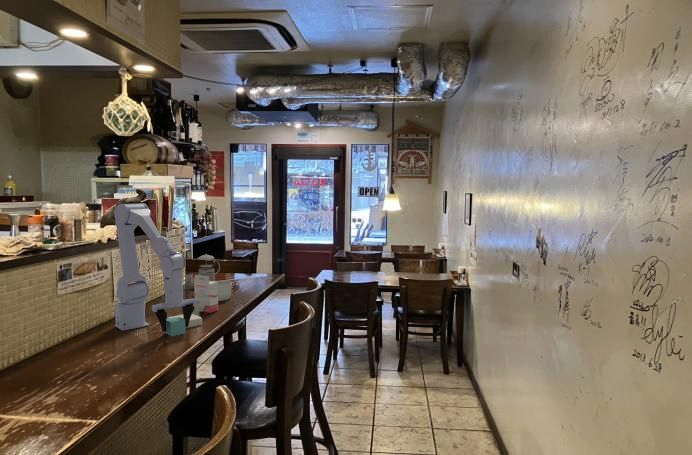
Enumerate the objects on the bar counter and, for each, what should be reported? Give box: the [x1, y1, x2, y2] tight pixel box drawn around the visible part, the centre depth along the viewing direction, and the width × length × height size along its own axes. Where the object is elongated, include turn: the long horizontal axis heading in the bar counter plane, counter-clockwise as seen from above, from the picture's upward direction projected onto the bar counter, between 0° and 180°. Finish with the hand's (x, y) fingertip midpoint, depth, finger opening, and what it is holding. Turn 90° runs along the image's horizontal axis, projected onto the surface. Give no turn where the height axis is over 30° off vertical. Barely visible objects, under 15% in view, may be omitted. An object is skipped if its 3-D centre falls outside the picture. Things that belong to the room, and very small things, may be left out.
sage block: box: [192, 304, 200, 317], centre depth 185 cm, size 4×4×4 cm
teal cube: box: [164, 317, 186, 337], centre depth 163 cm, size 5×5×5 cm
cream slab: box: [167, 314, 203, 329], centre depth 173 cm, size 9×9×3 cm
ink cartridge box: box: [193, 274, 219, 314], centre depth 192 cm, size 9×5×15 cm, turn 62°
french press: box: [197, 235, 221, 281], centre depth 244 cm, size 10×12×25 cm
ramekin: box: [211, 280, 233, 302], centre depth 213 cm, size 13×13×7 cm
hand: (175, 328), depth 163 cm, fingers open, 7 cm apart
